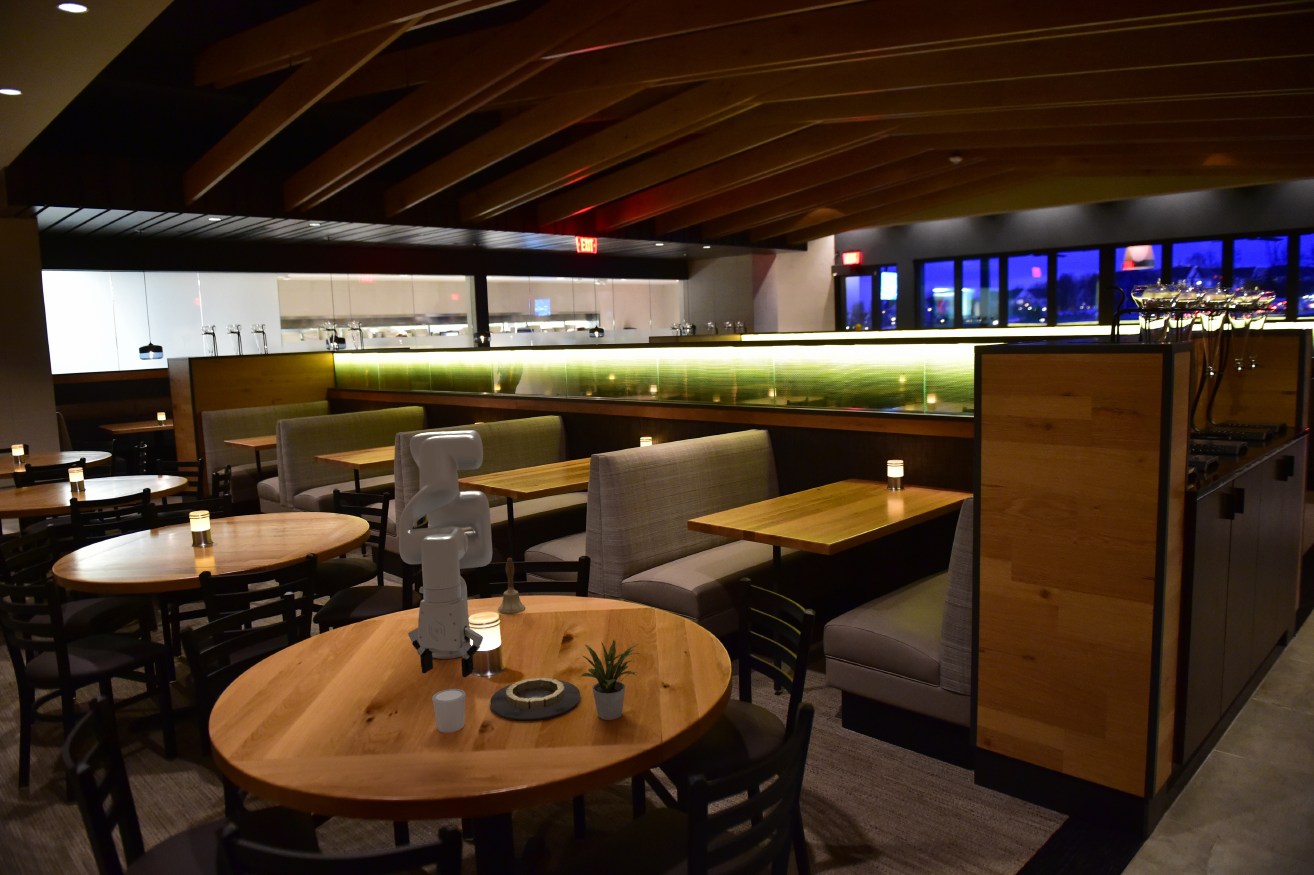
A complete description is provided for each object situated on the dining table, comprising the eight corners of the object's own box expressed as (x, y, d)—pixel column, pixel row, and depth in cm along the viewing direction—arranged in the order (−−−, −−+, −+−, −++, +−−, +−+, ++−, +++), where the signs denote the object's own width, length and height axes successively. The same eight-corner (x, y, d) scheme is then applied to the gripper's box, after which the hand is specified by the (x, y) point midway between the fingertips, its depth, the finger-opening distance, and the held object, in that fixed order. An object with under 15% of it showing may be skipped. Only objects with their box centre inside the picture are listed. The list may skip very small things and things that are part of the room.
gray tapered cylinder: (471, 719, 182) (469, 688, 182) (461, 734, 176) (459, 702, 175) (440, 719, 183) (438, 688, 182) (429, 733, 176) (427, 701, 175)
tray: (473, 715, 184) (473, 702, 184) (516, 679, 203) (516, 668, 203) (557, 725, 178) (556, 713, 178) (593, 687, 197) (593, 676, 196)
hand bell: (529, 605, 260) (526, 554, 258) (519, 614, 252) (517, 562, 250) (503, 604, 262) (500, 554, 260) (493, 613, 254) (490, 561, 252)
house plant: (651, 727, 176) (649, 651, 174) (585, 735, 173) (582, 659, 171) (638, 699, 190) (636, 629, 188) (577, 706, 187) (574, 635, 185)
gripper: (396, 596, 175) (401, 676, 177) (469, 601, 169) (474, 683, 171) (417, 586, 182) (422, 663, 184) (488, 590, 177) (492, 670, 178)
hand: (447, 673), depth 177 cm, fingers open, 9 cm apart
